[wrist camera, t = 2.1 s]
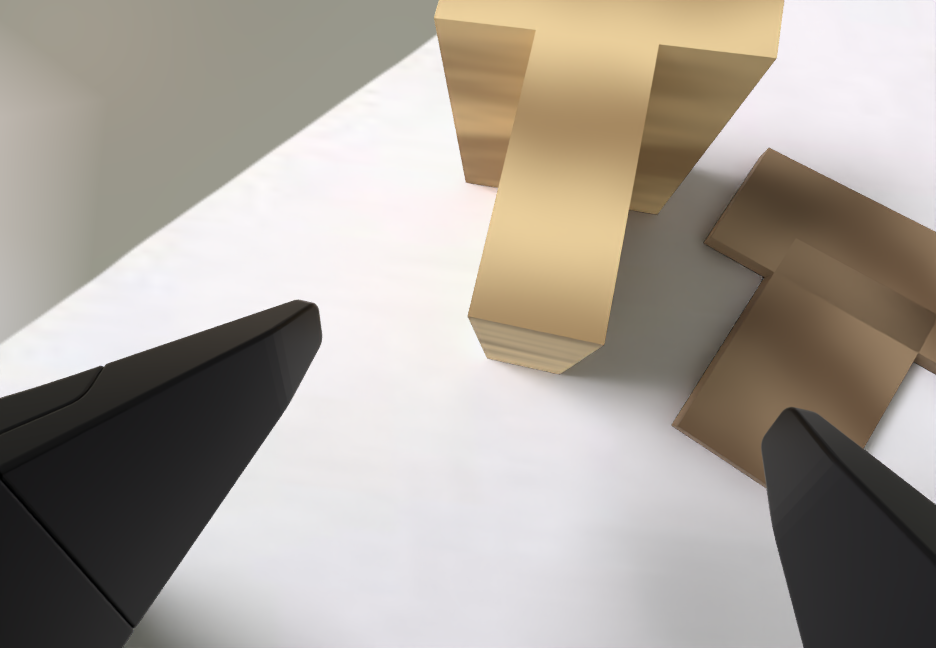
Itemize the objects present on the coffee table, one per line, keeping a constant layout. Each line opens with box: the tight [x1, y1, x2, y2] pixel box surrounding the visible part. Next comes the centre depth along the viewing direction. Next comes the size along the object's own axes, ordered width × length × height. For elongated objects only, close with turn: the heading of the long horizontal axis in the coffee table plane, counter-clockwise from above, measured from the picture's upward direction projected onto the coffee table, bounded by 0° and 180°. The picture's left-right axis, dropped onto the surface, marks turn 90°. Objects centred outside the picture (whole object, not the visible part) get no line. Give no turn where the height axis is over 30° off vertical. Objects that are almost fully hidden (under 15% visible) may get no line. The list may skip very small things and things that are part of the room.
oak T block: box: [434, 0, 784, 374], centre depth 17 cm, size 12×10×10 cm
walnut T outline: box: [671, 148, 936, 488], centre depth 20 cm, size 14×13×1 cm
